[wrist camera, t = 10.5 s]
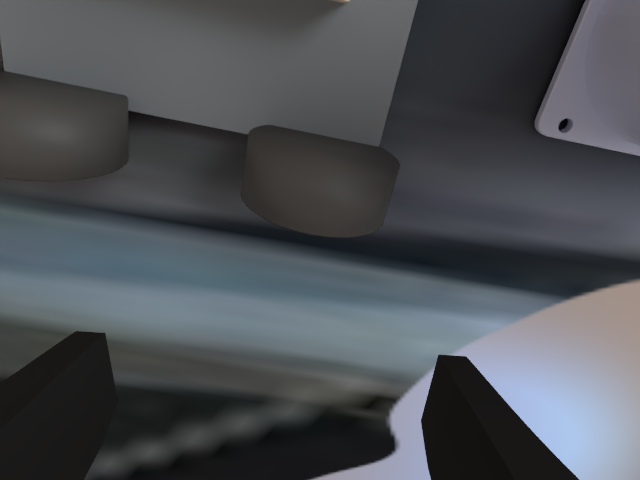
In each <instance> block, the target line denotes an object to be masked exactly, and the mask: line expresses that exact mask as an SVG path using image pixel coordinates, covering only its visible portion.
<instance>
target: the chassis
mask: <svg viewBox="0 0 640 480" xmlns="http://www.w3.org/2000/svg"><path fill="white" fill-rule="evenodd" d="M417 3H418V0H0V40H1V48H2V57H3V65H4V71H0V178H5V179H14V180H25V181H68V180H79V179H86V178H92V177H97V176H101V175H105V174H108V173H111V172H114V171H116V170H118V169H120V168H122V167H123V166H124V165H125V164H126V163H127V161H128V111H133V112H138V113H143V114H148V115H153V116H158V117H163V118H168V119H173V120H178V121H183V122H188V123H193V124H198V125H203V126H208V127H213V128H218V129H223V130H228V131H233V132H238V133H243V134H248V140H247V148H246V156H245V164H244V172H243V180H242V188H241V197H242V200H243V202H244V203H245V204H246V206H247V207H248V208H249V209H250V210H252V211H253V212H254V213H256V214H257V215H259V216H260V217H262V218H264V219H266V220H268V221H270V222H272V223H274V224H277V225H279V226H282V227H285V228H288V229H291V230H294V231H298V232H302V233H306V234H311V235H317V236H325V237H342V238H344V237H357V236H363V235H367V234H370V233H372V232H374V231H376V230H378V229H379V228H380V227H381V226H382V224H383V221H384V218H385V214H386V211H387V208H388V204H389V201H390V197H391V194H392V191H393V187H394V184H395V181H396V177H397V174H398V170H399V167H400V164H399V161H398V160H397V159H396V158H395V157H394V156H393V155H392V154H390V153H389V152H387V151H386V150H384V149H382V148H380V147H379V145H380V141H381V137H382V134H383V130H384V126H385V122H386V119H387V115H388V111H389V107H390V104H391V100H392V96H393V92H394V89H395V85H396V81H397V78H398V74H399V70H400V66H401V63H402V59H403V55H404V51H405V48H406V44H407V40H408V36H409V33H410V29H411V25H412V21H413V18H414V14H415V10H416V6H417Z"/></svg>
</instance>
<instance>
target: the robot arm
mask: <svg viewBox="0 0 640 480" xmlns="http://www.w3.org/2000/svg"><path fill="white" fill-rule="evenodd" d="M566 118H567V120H568V123H567V126H566V127H565V128H564V129H562V130H559V129H558V126H559V123H560V122H561V121H562V120H563V119H566ZM534 124H535V129H536V130H537V131H538V132H539V133H541V134H543V135H545V136H548V137H553V138H557V139H562V140H567V141H571V142H576V143H581V144H586V145H590V146H595V147H600V148H604V149H609V150H614V151H618V152H623V153H628V154H633V155H637V156H640V0H585V2H584V4H583V7H582V9H581V12H580V14H579V16H578V19H577V21H576V23H575V26H574V28H573V31H572V33H571V35H570V38H569V40H568V42H567V45H566V47H565V50H564V52H563V54H562V57H561V59H560V61H559V64H558V66H557V69H556V71H555V73H554V76H553V78H552V80H551V83H550V85H549V88H548V90H547V92H546V95H545V97H544V99H543V102H542V104H541V107H540V109H539V111H538V114H537V116H536V119H535V123H534ZM117 403H118V400H117V395H116V389H115V384H114V379H113V373H112V368H111V362H110V357H109V351H108V346H107V341H106V335H105V333H95V332H79V331H76V332H74V333H73V334H71V335H70V336H68V337H67V338H65V339H64V340H62V341H61V342H59V343H58V344H56V345H55V346H53V347H52V348H51V349H49V350H48V351H46V352H45V353H43V354H42V355H41V356H39V357H38V358H36V359H35V360H33V361H32V362H31V363H29V364H28V365H26V366H25V367H23V368H22V369H21V370H19V371H18V372H16V373H15V374H13V375H12V376H10V377H9V378H8V379H6V380H5V381H3V382H2V383H0V480H84V478H85V476H86V474H87V472H88V471H89V469H90V467H91V465H92V463H93V461H94V459H95V457H96V455H97V453H98V451H99V449H100V447H101V445H102V442H103V440H104V437H105V435H106V432H107V430H108V427H109V425H110V422H111V419H112V417H113V414H114V411H115V409H116V406H117ZM421 423H422V430H423V437H424V443H425V450H426V456H427V463H428V469H429V473H430V476H431V480H579V479H578V478H577V477H576V476H575V475H574V474H573V473H572V472H571V471H570V470H569V469H568V468H567V467H566V466H565V465H564V464H563V463H562V462H561V461H560V460H559V459H558V458H557V457H556V456H555V455H554V454H553V453H552V452H551V451H550V450H549V449H548V448H547V446H546V445H545V444H544V443H543V442H542V441H541V440H540V439H539V438H538V437H537V436H536V435H535V434H534V433H533V432H532V431H531V429H530V428H529V427H528V426H527V425H526V424H525V423H524V422H523V421H522V420H521V419H520V417H519V416H518V415H517V414H516V413H515V412H514V411H513V410H512V409H511V407H510V406H509V405H508V404H507V403H506V402H505V401H504V399H503V398H502V397H501V396H500V395H499V394H498V392H497V391H496V390H495V389H494V388H493V387H492V386H491V384H490V383H489V382H488V381H487V380H486V379H485V377H484V376H483V375H482V374H481V373H480V372H479V371H478V369H477V368H476V367H475V366H474V365H473V364H472V363H471V362H470V360H469V359H468V358H467V357H464V356H449V355H438V359H437V363H436V366H435V370H434V374H433V378H432V381H431V385H430V389H429V393H428V397H427V401H426V404H425V408H424V412H423V416H422V419H421Z"/></svg>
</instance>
